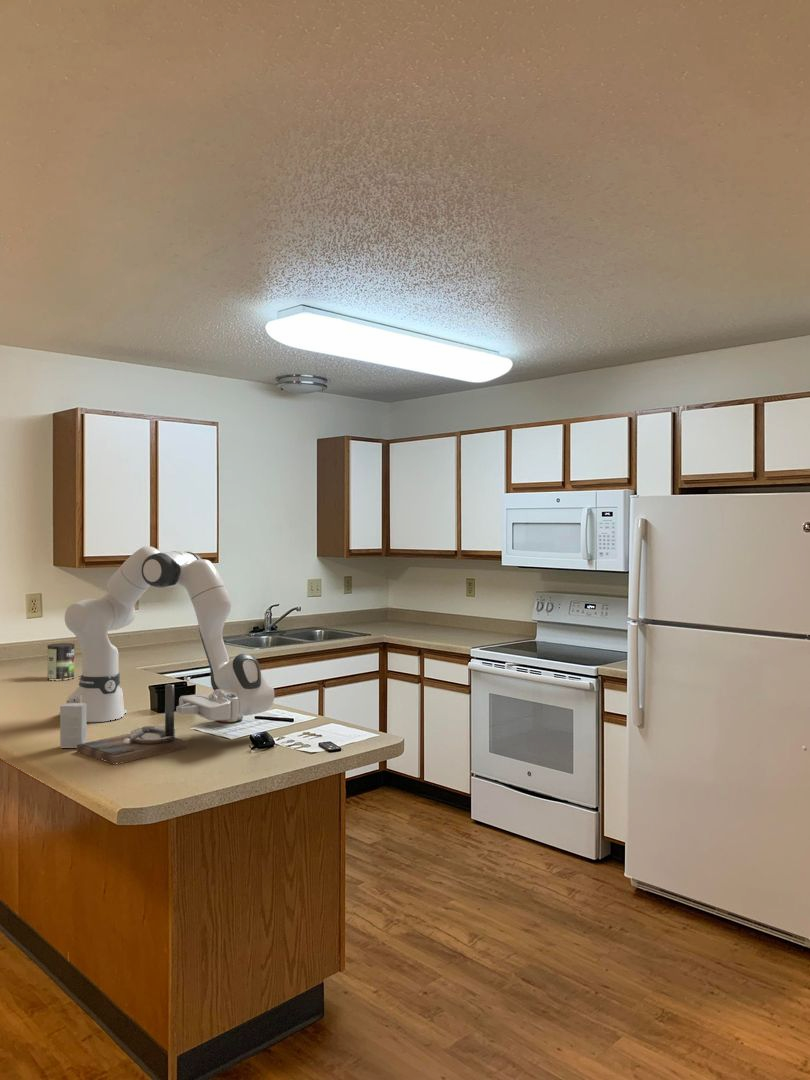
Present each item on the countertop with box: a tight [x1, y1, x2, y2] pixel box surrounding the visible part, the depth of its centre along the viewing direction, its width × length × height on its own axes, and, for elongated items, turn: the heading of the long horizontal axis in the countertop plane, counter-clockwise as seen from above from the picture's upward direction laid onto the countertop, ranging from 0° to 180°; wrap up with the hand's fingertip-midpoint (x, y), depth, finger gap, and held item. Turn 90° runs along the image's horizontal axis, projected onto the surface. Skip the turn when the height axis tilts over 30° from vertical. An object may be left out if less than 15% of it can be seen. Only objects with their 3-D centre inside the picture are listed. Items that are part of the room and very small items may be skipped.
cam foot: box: [123, 683, 176, 745], centre depth 223 cm, size 14×20×16 cm
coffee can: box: [47, 642, 76, 679], centre depth 330 cm, size 10×10×14 cm
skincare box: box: [59, 702, 88, 749], centre depth 226 cm, size 6×4×12 cm
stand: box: [76, 732, 187, 765], centre depth 224 cm, size 19×22×2 cm
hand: (178, 710), depth 224 cm, fingers closed
